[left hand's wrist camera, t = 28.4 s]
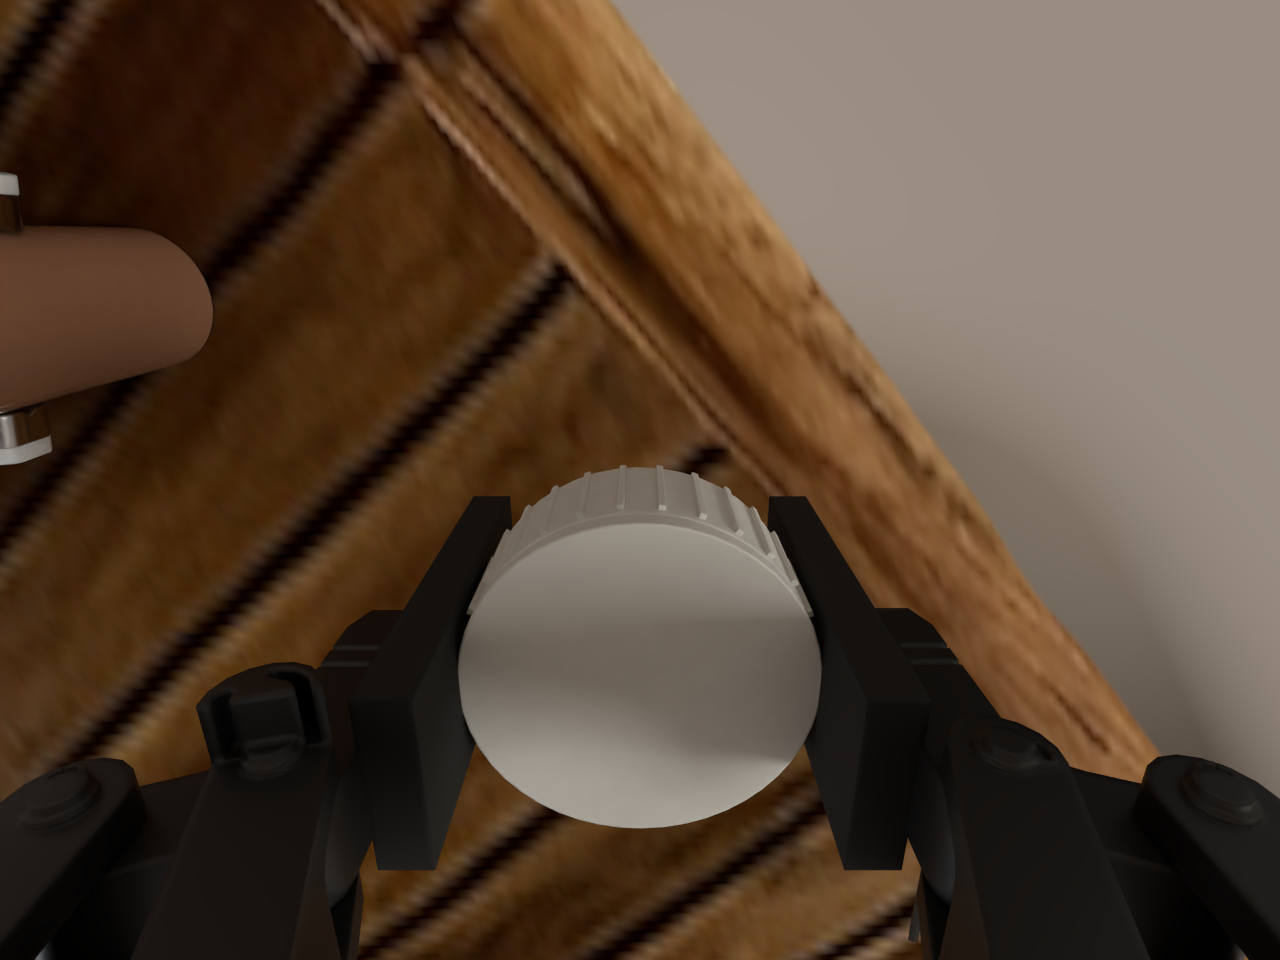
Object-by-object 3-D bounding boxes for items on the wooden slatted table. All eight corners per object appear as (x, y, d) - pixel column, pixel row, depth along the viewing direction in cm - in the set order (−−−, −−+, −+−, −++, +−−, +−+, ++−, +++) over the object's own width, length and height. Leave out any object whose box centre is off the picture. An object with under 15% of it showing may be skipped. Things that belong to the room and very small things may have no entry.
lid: (491, 444, 11) (455, 497, 9) (823, 480, 12) (867, 541, 9) (480, 716, 13) (447, 816, 11) (764, 743, 13) (789, 847, 11)
